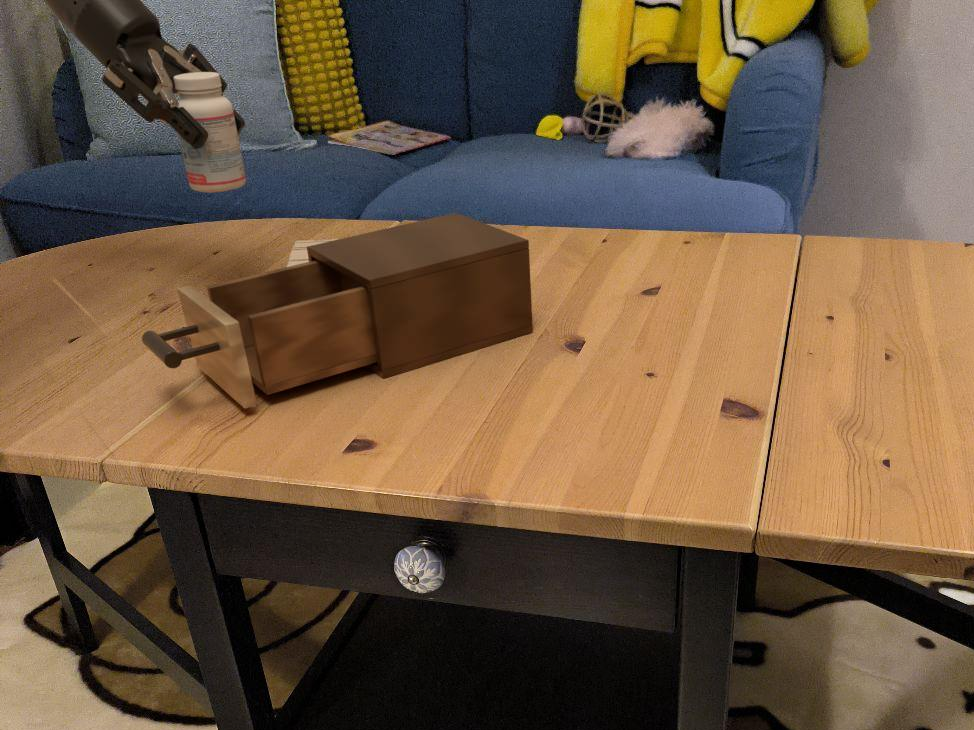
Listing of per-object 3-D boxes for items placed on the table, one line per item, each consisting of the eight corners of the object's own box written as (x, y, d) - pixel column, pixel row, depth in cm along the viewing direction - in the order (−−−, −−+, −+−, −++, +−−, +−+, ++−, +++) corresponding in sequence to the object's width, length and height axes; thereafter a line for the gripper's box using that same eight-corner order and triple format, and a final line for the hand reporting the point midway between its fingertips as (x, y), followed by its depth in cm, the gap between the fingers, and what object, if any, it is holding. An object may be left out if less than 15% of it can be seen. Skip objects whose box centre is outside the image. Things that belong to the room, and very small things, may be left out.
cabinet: (383, 378, 92) (369, 280, 87) (322, 337, 101) (306, 246, 96) (533, 332, 100) (528, 239, 95) (463, 298, 110) (456, 212, 104)
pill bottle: (182, 186, 107) (157, 75, 101) (235, 177, 110) (214, 69, 104) (201, 196, 103) (176, 81, 97) (255, 187, 106) (234, 74, 100)
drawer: (190, 425, 83) (167, 340, 79) (146, 379, 92) (123, 300, 87) (406, 359, 93) (397, 280, 89) (349, 324, 102) (337, 250, 98)
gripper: (64, -14, 92) (197, 123, 95) (159, -24, 103) (275, 98, 107) (37, 48, 97) (165, 177, 100) (131, 32, 108) (243, 147, 111)
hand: (221, 136), depth 103 cm, fingers closed on pill bottle, 6 cm apart
